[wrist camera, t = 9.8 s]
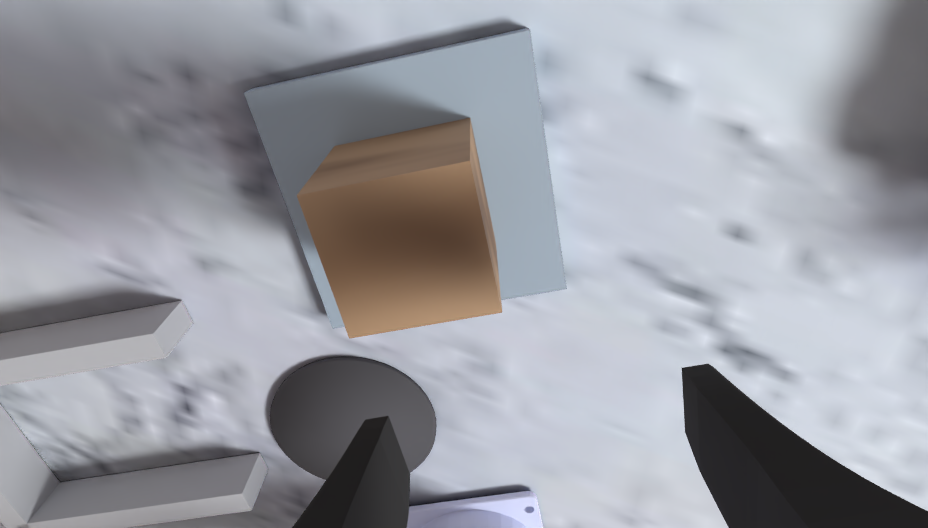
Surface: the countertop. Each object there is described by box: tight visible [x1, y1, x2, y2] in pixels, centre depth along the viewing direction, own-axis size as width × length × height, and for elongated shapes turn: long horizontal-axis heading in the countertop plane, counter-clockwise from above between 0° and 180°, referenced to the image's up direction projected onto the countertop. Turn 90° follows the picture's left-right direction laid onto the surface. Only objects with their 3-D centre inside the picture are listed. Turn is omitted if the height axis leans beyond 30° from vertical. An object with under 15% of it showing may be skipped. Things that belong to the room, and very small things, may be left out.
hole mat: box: [270, 357, 436, 480], centre depth 28 cm, size 8×8×1 cm
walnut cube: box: [297, 118, 502, 338], centre depth 19 cm, size 5×5×5 cm
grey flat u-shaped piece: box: [0, 300, 268, 528], centre depth 26 cm, size 10×12×2 cm
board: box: [244, 28, 567, 329], centre depth 22 cm, size 10×10×1 cm
